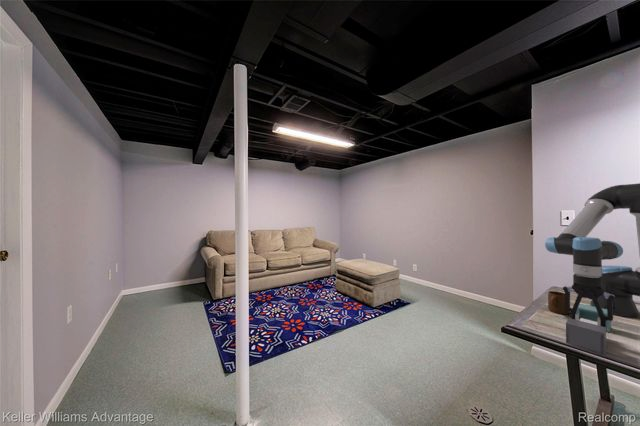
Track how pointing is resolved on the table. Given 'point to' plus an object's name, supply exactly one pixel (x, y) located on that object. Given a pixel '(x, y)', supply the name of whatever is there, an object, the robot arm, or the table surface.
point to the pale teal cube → (592, 314)
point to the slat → (588, 321)
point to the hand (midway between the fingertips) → (588, 332)
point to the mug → (557, 302)
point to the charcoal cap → (586, 335)
